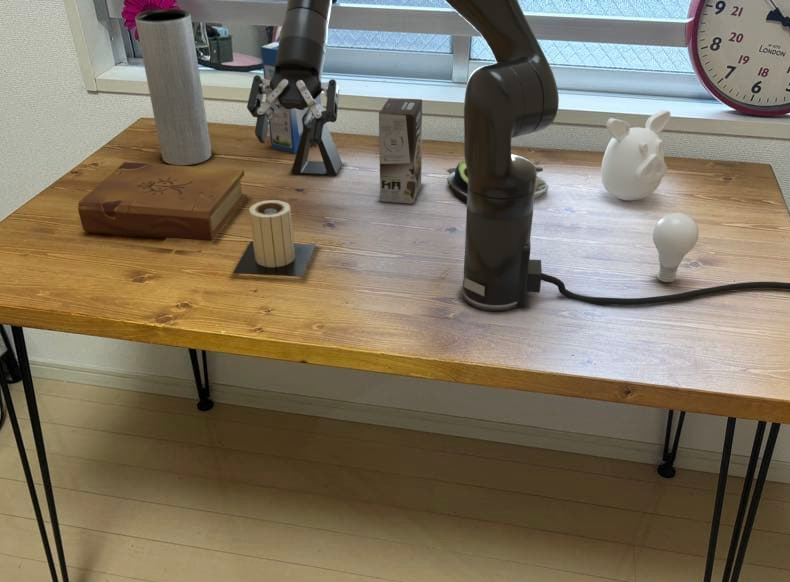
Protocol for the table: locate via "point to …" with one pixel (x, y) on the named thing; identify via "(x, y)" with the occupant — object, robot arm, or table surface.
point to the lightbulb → (673, 242)
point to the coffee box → (400, 150)
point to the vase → (174, 85)
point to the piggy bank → (634, 158)
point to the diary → (163, 201)
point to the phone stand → (325, 146)
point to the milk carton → (286, 121)
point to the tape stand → (292, 269)
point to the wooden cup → (272, 233)
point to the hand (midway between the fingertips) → (286, 142)
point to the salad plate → (460, 182)
